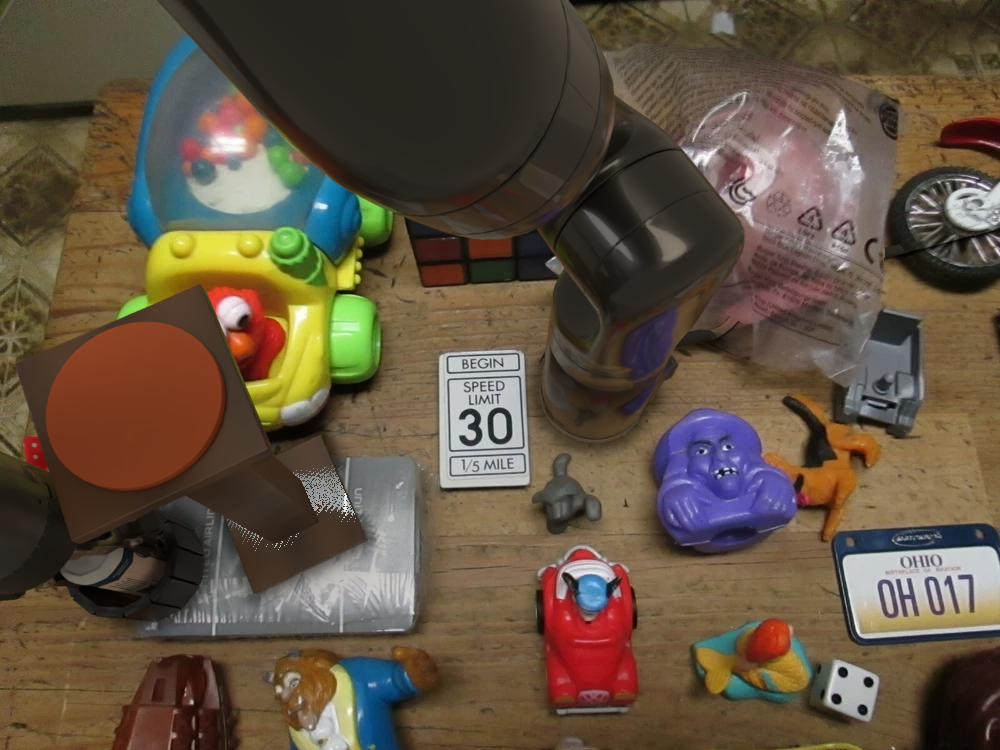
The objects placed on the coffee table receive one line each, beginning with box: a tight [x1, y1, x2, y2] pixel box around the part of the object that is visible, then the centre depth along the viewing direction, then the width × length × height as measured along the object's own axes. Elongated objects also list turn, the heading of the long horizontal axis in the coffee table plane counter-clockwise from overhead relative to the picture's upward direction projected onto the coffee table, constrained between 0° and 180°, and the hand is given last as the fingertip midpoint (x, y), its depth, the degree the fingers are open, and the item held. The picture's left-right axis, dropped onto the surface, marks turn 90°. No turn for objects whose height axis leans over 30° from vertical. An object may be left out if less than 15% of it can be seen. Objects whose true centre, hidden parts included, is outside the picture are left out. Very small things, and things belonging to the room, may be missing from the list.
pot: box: [67, 508, 206, 623], centre depth 66 cm, size 9×9×6 cm
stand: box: [14, 283, 369, 596], centre depth 56 cm, size 10×10×31 cm
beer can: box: [60, 529, 169, 597], centre depth 63 cm, size 5×5×12 cm
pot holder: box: [46, 322, 225, 491], centre depth 41 cm, size 9×9×1 cm
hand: (113, 556), depth 62 cm, fingers closed on beer can, 4 cm apart
